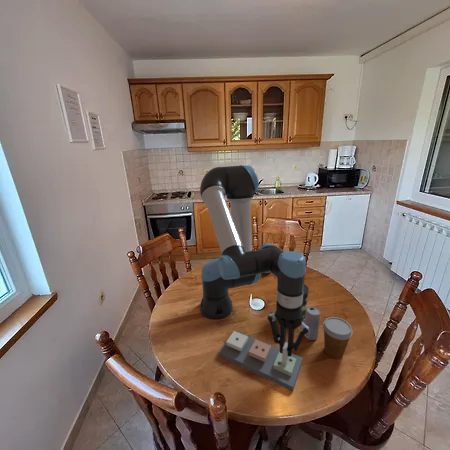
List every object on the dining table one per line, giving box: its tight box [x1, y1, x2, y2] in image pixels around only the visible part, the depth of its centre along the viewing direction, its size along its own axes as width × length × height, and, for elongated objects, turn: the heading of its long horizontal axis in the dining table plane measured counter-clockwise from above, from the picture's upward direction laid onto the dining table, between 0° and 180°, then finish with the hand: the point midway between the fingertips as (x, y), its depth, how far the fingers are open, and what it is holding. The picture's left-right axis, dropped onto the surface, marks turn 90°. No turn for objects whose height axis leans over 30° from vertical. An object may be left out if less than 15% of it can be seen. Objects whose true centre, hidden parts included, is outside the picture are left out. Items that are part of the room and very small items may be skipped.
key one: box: [225, 330, 249, 351], centre depth 88 cm, size 6×6×4 cm
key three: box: [273, 352, 296, 376], centre depth 80 cm, size 6×6×4 cm
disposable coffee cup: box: [322, 316, 354, 360], centre depth 85 cm, size 10×10×12 cm
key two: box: [249, 339, 271, 362], centre depth 84 cm, size 6×6×4 cm
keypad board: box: [218, 330, 303, 392], centre depth 85 cm, size 27×12×2 cm, turn 60°
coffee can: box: [301, 283, 310, 322], centre depth 104 cm, size 10×10×14 cm
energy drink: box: [303, 305, 321, 341], centre depth 93 cm, size 5×5×12 cm
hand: (285, 361), depth 79 cm, fingers closed
